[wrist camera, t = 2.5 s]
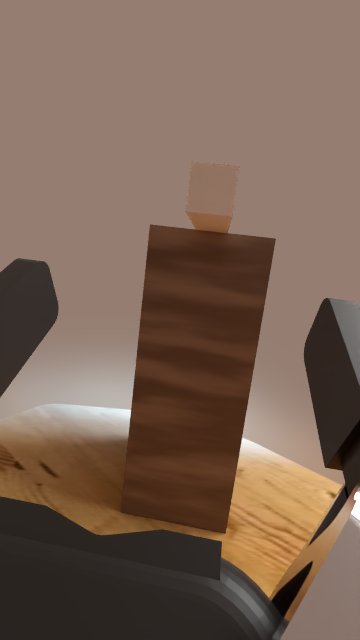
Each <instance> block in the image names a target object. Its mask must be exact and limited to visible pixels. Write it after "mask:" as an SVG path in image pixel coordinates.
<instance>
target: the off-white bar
mask: <svg viewBox="0 0 360 640" xmlns="http://www.w3.org/2000/svg"><path fill="white" fill-rule="evenodd" d="M238 174H239V166H231V165H220V164H209V163H198V162H192V163H191V172H190V180H189V189H188V197H187V206H186V213H187V214H188V216H189V218H190V220H191V221H192V223H193V225H194V227H195V228H196V230H203V231H212V232H220V233H228V229H229V226H230V223H231V219H232V215H233V208H234V201H235V195H236V187H237V181H238Z"/></svg>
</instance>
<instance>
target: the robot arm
mask: <svg viewBox="0 0 360 640" xmlns="http://www.w3.org/2000/svg"><path fill="white" fill-rule="evenodd" d="M57 316H58V301H57V297H56V293H55V289H54V286H53V281H52V278H51V273H50V269H49V267H48V265H47V264H46V263H45V262H43V261H36V260H28V259H21V258H19V259H16V260H14V261H13V262H12V263H11V264H10V265H8V266H7V267H6V268H5V269H4V270H3V271H1V272H0V397H1V396H2V394H3V393H4V392H5V390H6V389H7V388H8V386H9V385H10V383H11V382H12V380H13V379H14V378H15V377H16V375H17V374H18V372H19V371H20V370H21V368H22V367H23V366H24V364H25V363H26V361H27V360H28V359H29V357H30V356H31V355H32V353H33V352H34V351H35V349H36V347H37V346H38V345H39V344H40V342H41V341H42V340H43V338H44V337H45V335H46V334H47V333H48V331H49V330H50V329H51V327H52V326H53V324H54V323H55V321H56V319H57ZM304 362H305V367H306V372H307V377H308V382H309V388H310V393H311V398H312V403H313V408H314V414H315V419H316V424H317V429H318V434H319V440H320V445H321V450H322V455H323V460H324V465H325V468H331V469H337V470H342V471H343V474H344V478H345V484H344V485H343V486H342V487H341V489H340V490H339V492H338V493H337V495H336V497H335V498H334V500H333V501H332V503H331V505H330V506H329V508H328V509H327V511H326V513H325V514H324V516H323V517H322V519H321V521H320V522H319V524H318V525H317V527H316V529H315V530H314V532H313V533H312V535H311V537H310V538H309V540H308V541H307V543H306V545H305V546H304V548H303V549H302V551H301V552H300V554H299V555H298V556H297V558H296V559H295V560H294V562H293V563H292V564H291V566H290V567H289V568H288V570H287V571H286V573H285V574H284V576H283V577H282V579H281V580H280V582H279V583H278V585H277V586H276V588H275V589H274V591H273V593H272V594H271V596H270V597H269V598H268V597H267V595H266V594H265V593H264V592H263V591H262V590H261V588H260V587H259V586H258V585H257V584H256V583H255V582H254V581H253V580H252V579H251V578H250V577H249V576H248V575H246V574H245V573H244V572H243V571H241V570H240V569H239V568H237V567H236V566H235V565H233V564H232V563H231V562H229V561H227V560H225V559H223V558H222V557H221V547H222V542H221V541H216V540H211V539H207V538H202V537H197V536H192V535H187V534H182V533H177V532H172V531H167V530H153V531H143V532H133V533H123V534H113V535H96V534H94V533H92V532H90V531H88V530H86V529H85V528H83V527H81V526H80V525H78V524H76V523H75V522H73V521H71V520H69V519H68V518H66V517H64V516H63V515H61V514H59V513H58V512H56V511H54V510H52V509H51V508H49V507H47V506H44V505H39V504H35V503H30V502H25V501H20V500H15V499H10V498H5V497H0V640H360V308H359V305H358V304H357V303H356V302H353V301H345V300H338V299H330V298H326V299H324V300H323V302H322V304H321V306H320V308H319V311H318V313H317V316H316V317H315V320H314V322H313V325H312V327H311V329H310V332H309V334H308V337H307V339H306V343H305V348H304Z"/></svg>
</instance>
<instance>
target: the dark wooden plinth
mask: <svg viewBox="0 0 360 640" xmlns="http://www.w3.org/2000/svg"><path fill="white" fill-rule="evenodd" d="M275 240H276V239H274V238H265V237H256V236H247V235H238V234H229V233H220V232H212V231H203V230H194V229H184V228H175V227H166V226H158V225H150V230H149V241H148V251H147V260H146V270H145V280H144V290H143V300H142V309H141V319H140V329H139V339H138V349H137V359H136V370H135V379H134V388H133V398H132V408H131V418H130V428H129V438H128V448H127V458H126V468H125V477H124V487H123V497H122V507H121V512H123V513H128V514H133V515H138V516H143V517H148V518H153V519H158V520H163V521H167V522H172V523H177V524H182V525H187V526H192V527H197V528H202V529H207V530H212V531H217V532H222V533H226V528H227V522H228V516H229V510H230V505H231V499H232V493H233V487H234V481H235V475H236V469H237V463H238V458H239V452H240V446H241V440H242V434H243V428H244V422H245V416H246V410H247V404H248V399H249V392H250V387H251V381H252V375H253V369H254V363H255V357H256V352H257V346H258V340H259V334H260V328H261V322H262V316H263V311H264V305H265V299H266V293H267V287H268V281H269V275H270V269H271V263H272V257H273V252H274V245H275Z"/></svg>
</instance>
